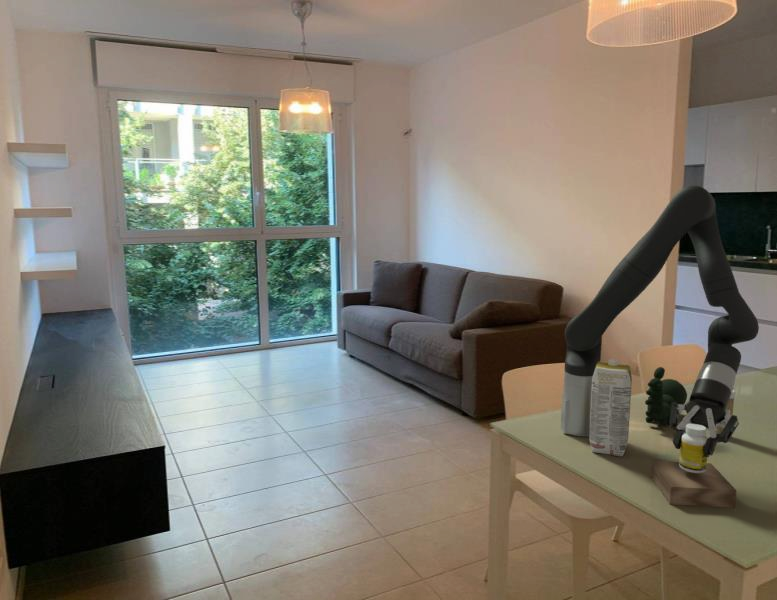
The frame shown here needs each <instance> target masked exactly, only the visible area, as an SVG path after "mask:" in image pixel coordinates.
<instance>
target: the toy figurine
mask: <svg viewBox="0 0 777 600" xmlns="http://www.w3.org/2000/svg"><path fill="white" fill-rule="evenodd" d="M665 369H666V368H664V367H662V366H660V367H659V366H658V367H657V368H656V369H655V370H654V372H653V377H654V378H653V377H652V379H650V380H649V382H648V383H647V386H648V390H646V391H645V394H646V395H647V396H648V398H647V399H645V401H644V404H645V405H646V406H647V408H646V411H645V412H644V413H645V415H646V417H645V422H646V423H647V424H652V423H653V422H654V423H659V425H660V426H661V427H666V426H669V425H670V423H669V422H670V414H671V406H672V403H673V402H676V403H677V404H681V405H685V404H686V403H687V402H686V401H687V399H688V393H687V390H686V388H685V386H684V385H683V384H682V383H681V382H679V381H678V380H676V379H673V378H672V379H671V378H666V379H663V377H664V376H665V372H666V370H665ZM670 426H671V425H670Z"/></svg>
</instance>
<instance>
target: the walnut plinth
mask: <svg viewBox="0 0 777 600" xmlns="http://www.w3.org/2000/svg"><path fill="white" fill-rule="evenodd" d="M650 474H651V475H650V478H651V479H652V480H653V481H654V483H655V485H656V487H657V488H658V489H659V491H660V492H661V493H662V495H663V497H664V498H665V499H666V501H667V502H668V504H669V505H674V506H675V505H679V506H694V507H696V506H697V507H710V508H711V507H713V508H714V507H715V508H733V509H735V508H736V507H735V505H736V495H737V489H736V488H735V487H734V486H733V485H732V484H731V483H730V482H729V481H728V480H727V479H726V477H724V475H722V473H721V472H720V471H719V470H718V468H716V466H714V464H712V463H711V462H710V463H708V462H707V466H706V471H705V472H703V473H692V472H688V471H685V470H683V469H682V468H681V467H680V466H679V461H667V460H663V461H662V460H652V461H651V473H650Z"/></svg>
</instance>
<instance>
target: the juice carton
mask: <svg viewBox="0 0 777 600" xmlns="http://www.w3.org/2000/svg"><path fill="white" fill-rule="evenodd" d="M631 370H632V369H631V367H630V364H626V363H625V364H619V360H618V359H614V358H613V359H610V358H609V359H607V362H602V361H600V362H598V363H597V364H596V367H595V369H594V373H593V379H592V393H591V414H590V436H589V443H590V449H591V452H592V453H596V454H603V455H609V456H614V457H623V456H624V454H625V451H626V449H627V445H628V442H629V431H630V430H629V429H630V417H631V416H630V415H631V399H632V386H633V385H632V381H633V379H632V378H633V377H632V371H631Z"/></svg>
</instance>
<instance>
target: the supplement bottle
mask: <svg viewBox="0 0 777 600" xmlns="http://www.w3.org/2000/svg"><path fill="white" fill-rule="evenodd" d="M706 435H707V428H706V427H704V426H702V425H699V424H687V425H686V432H685V433H684V434H683V435H682V437H681V447H680V449H679V450H680V451H679V460H678V462H679V466H680V467H681V468H682V469H683V470H685V471H688V472H692V473H703V472H705V471H706V466H707V463H708V457H705V456H704V453H703V452H704V449H705V446H706V443H707V440H708V438H709V437H707V436H706Z"/></svg>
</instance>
